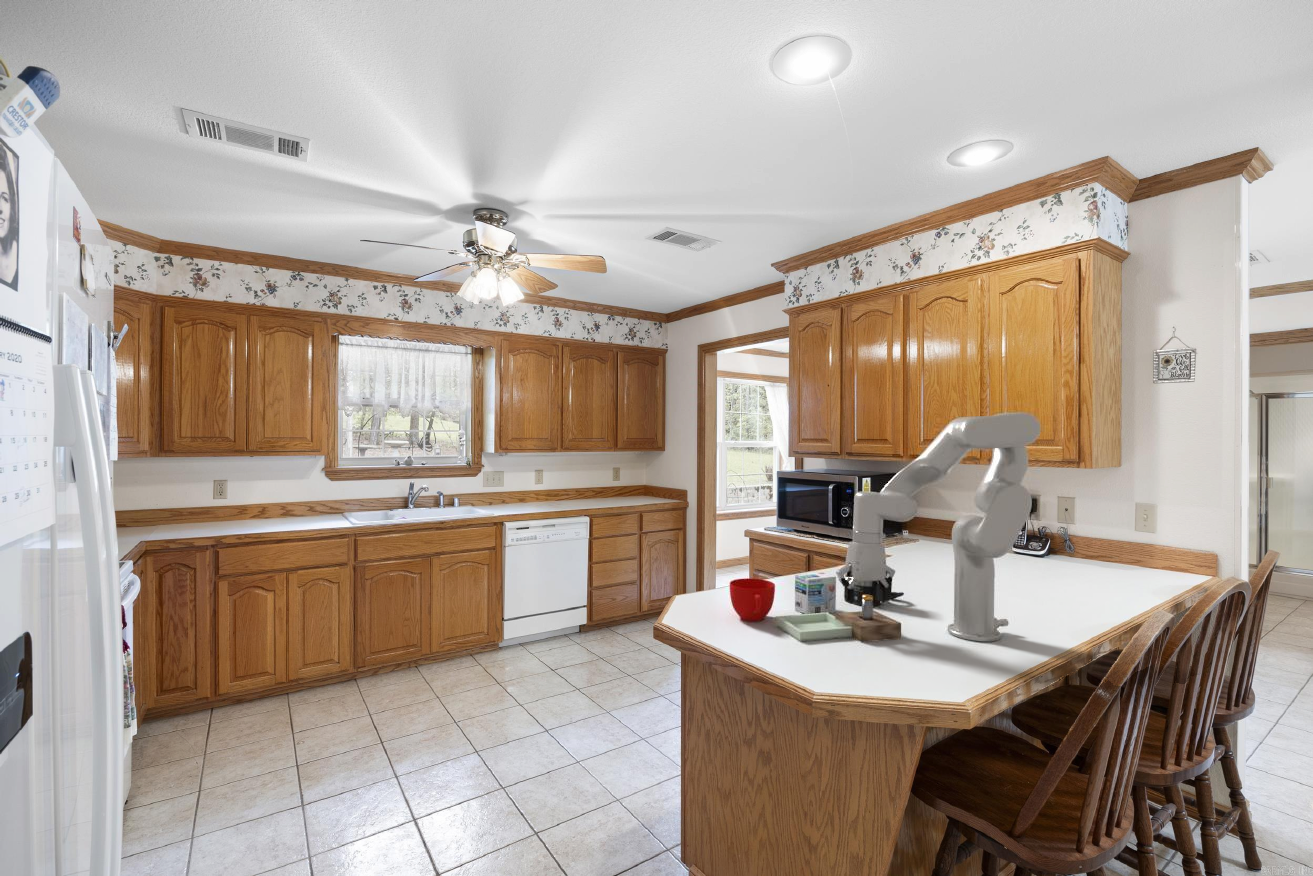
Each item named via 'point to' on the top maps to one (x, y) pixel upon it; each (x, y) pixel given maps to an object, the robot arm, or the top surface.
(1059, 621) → the top surface
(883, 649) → the top surface
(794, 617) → the tray
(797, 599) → the light bulb box
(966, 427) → the robot arm
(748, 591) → the ceramic cup
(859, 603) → the milk frother
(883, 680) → the top surface
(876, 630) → the block
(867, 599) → the pin
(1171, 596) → the top surface
